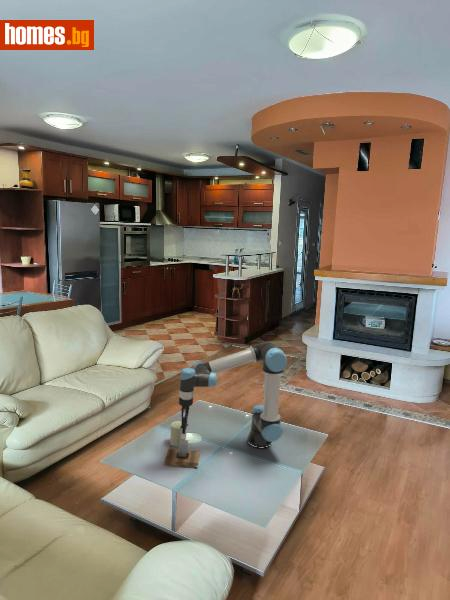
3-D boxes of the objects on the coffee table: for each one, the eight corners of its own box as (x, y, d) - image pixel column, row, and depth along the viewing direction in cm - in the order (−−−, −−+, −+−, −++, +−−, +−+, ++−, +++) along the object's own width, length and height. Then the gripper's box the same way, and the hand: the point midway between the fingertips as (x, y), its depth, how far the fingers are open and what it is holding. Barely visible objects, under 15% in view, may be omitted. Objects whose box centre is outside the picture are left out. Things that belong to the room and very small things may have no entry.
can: (182, 448, 237) (183, 428, 235) (167, 445, 239) (168, 426, 237) (187, 440, 246) (188, 421, 244) (172, 437, 248) (173, 419, 246)
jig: (199, 455, 230) (200, 447, 230) (197, 468, 219) (198, 459, 218) (167, 453, 231) (168, 445, 230) (164, 465, 219) (164, 456, 218)
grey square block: (186, 458, 227) (187, 440, 225) (185, 463, 222) (187, 444, 220) (178, 457, 227) (179, 439, 225) (177, 462, 222) (178, 443, 220)
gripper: (180, 391, 224) (178, 431, 229) (177, 401, 212) (174, 443, 216) (194, 392, 224) (191, 432, 229) (191, 403, 211) (189, 444, 216)
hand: (183, 437), depth 222 cm, fingers closed
